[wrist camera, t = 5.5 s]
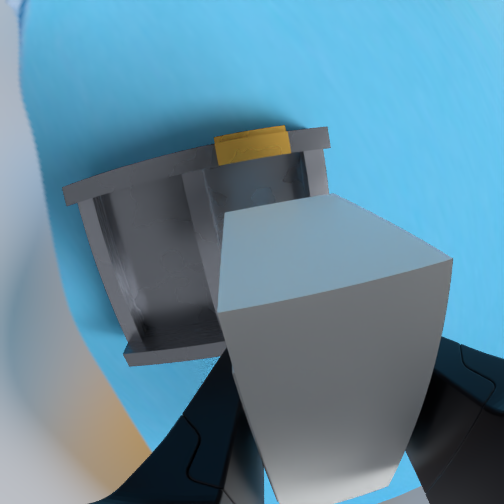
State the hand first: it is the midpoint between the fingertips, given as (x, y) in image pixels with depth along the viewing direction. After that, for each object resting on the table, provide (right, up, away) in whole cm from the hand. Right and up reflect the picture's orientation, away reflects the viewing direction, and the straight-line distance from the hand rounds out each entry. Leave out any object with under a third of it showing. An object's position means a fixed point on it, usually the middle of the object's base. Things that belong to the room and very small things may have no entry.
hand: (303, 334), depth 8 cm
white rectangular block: (0, 0, +1) cm, 1 cm away
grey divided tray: (-4, +3, +9) cm, 10 cm away
